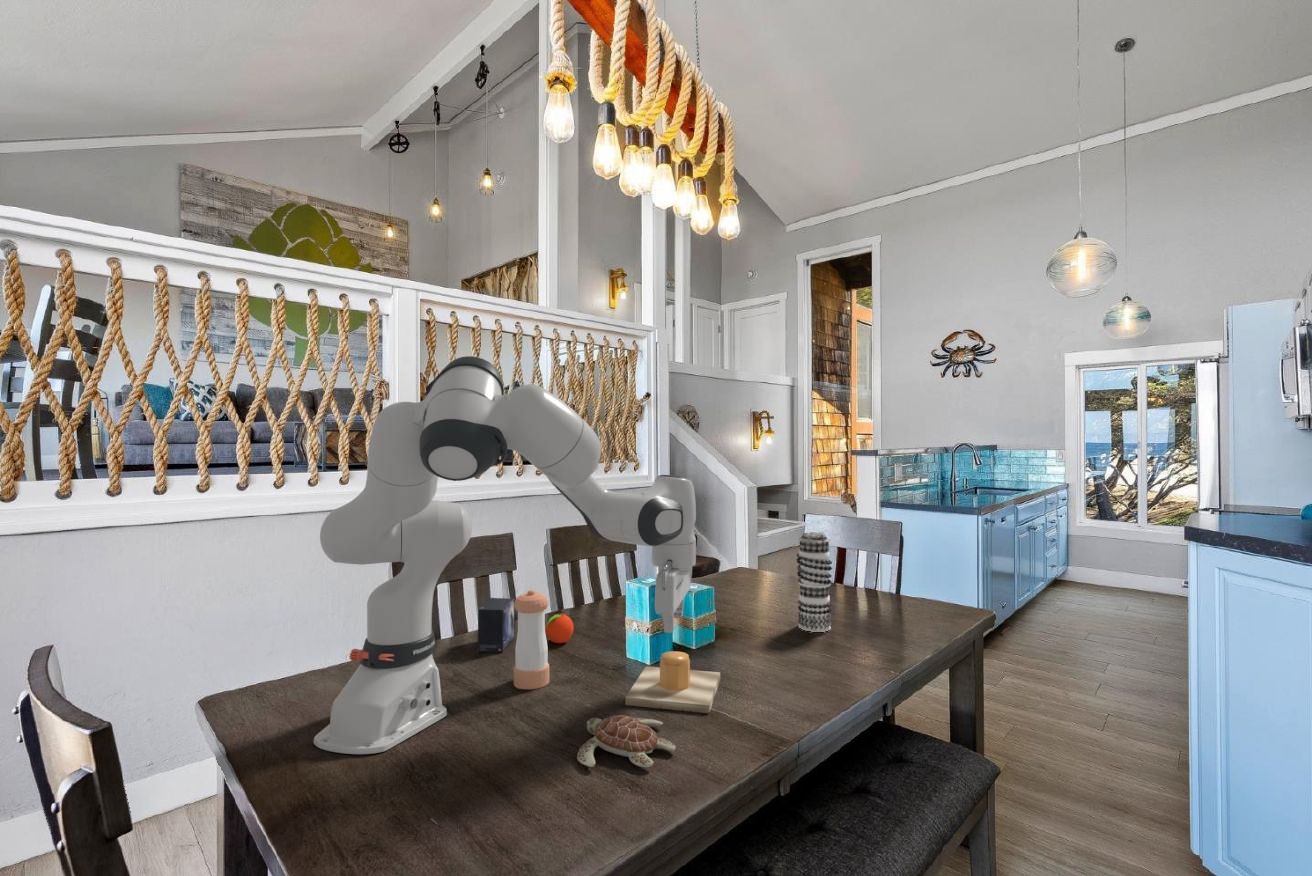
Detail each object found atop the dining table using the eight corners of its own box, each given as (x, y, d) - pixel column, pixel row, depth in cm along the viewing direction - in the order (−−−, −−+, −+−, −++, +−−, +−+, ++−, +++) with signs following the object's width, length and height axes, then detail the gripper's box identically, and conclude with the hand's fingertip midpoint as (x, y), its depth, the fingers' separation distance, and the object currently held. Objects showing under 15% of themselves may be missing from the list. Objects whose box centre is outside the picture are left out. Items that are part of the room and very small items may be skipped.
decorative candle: (789, 625, 164) (789, 532, 164) (816, 620, 168) (816, 530, 168) (811, 635, 156) (811, 537, 156) (839, 630, 160) (839, 534, 160)
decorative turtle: (622, 715, 112) (622, 688, 112) (696, 743, 102) (696, 713, 102) (547, 755, 98) (547, 724, 98) (625, 792, 88) (625, 758, 88)
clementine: (556, 650, 146) (555, 620, 146) (536, 644, 150) (536, 615, 150) (579, 641, 152) (579, 613, 152) (560, 636, 156) (560, 608, 156)
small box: (504, 653, 144) (503, 609, 144) (476, 653, 144) (476, 609, 144) (515, 638, 154) (515, 597, 154) (489, 638, 155) (489, 597, 155)
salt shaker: (541, 691, 122) (541, 595, 122) (507, 688, 124) (507, 594, 124) (554, 677, 129) (554, 586, 129) (522, 674, 131) (522, 585, 131)
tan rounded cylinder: (686, 691, 118) (686, 662, 118) (658, 688, 120) (657, 660, 120) (691, 680, 124) (691, 652, 124) (664, 677, 125) (664, 650, 125)
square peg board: (709, 713, 112) (709, 683, 112) (625, 705, 116) (625, 676, 116) (720, 679, 128) (720, 653, 128) (646, 673, 131) (646, 647, 131)
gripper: (680, 567, 111) (680, 642, 112) (696, 547, 131) (696, 611, 132) (646, 565, 113) (646, 640, 113) (668, 545, 133) (668, 609, 133)
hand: (673, 624), depth 122 cm, fingers open, 8 cm apart
